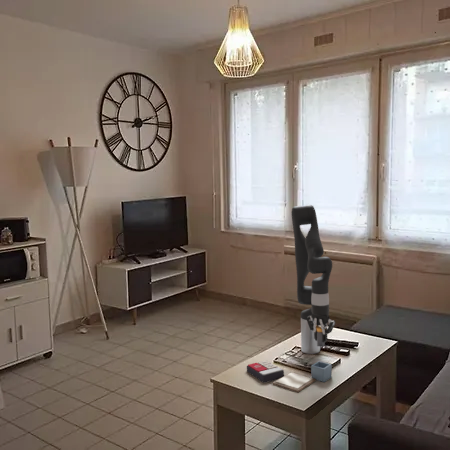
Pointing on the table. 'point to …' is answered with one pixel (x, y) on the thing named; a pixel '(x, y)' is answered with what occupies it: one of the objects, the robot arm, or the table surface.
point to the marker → (319, 337)
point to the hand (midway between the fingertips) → (320, 340)
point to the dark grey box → (265, 371)
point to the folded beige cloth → (294, 381)
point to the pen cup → (321, 371)
